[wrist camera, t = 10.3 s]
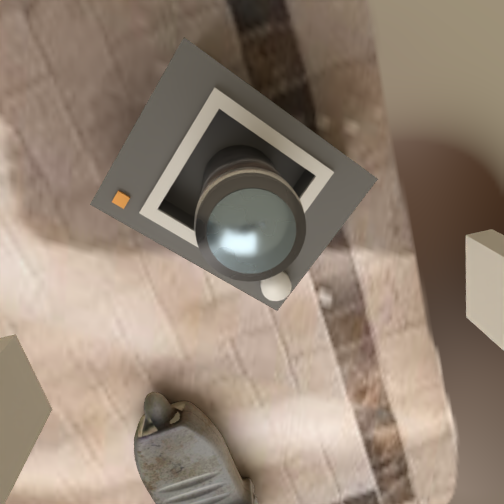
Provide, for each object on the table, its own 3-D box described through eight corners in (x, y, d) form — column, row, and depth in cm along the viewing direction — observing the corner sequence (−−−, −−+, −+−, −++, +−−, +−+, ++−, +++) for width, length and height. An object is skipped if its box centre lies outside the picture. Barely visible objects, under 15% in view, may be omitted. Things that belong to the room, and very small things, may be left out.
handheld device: (200, 365, 39) (198, 400, 34) (267, 504, 46) (272, 547, 42) (104, 398, 39) (91, 436, 35) (186, 530, 47) (183, 575, 42)
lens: (186, 193, 28) (170, 249, 19) (228, 126, 27) (234, 150, 17) (250, 233, 29) (266, 303, 20) (293, 171, 28) (332, 216, 19)
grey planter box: (115, 180, 32) (86, 208, 24) (190, 48, 29) (182, 35, 22) (265, 270, 35) (278, 316, 28) (345, 161, 33) (382, 181, 25)
